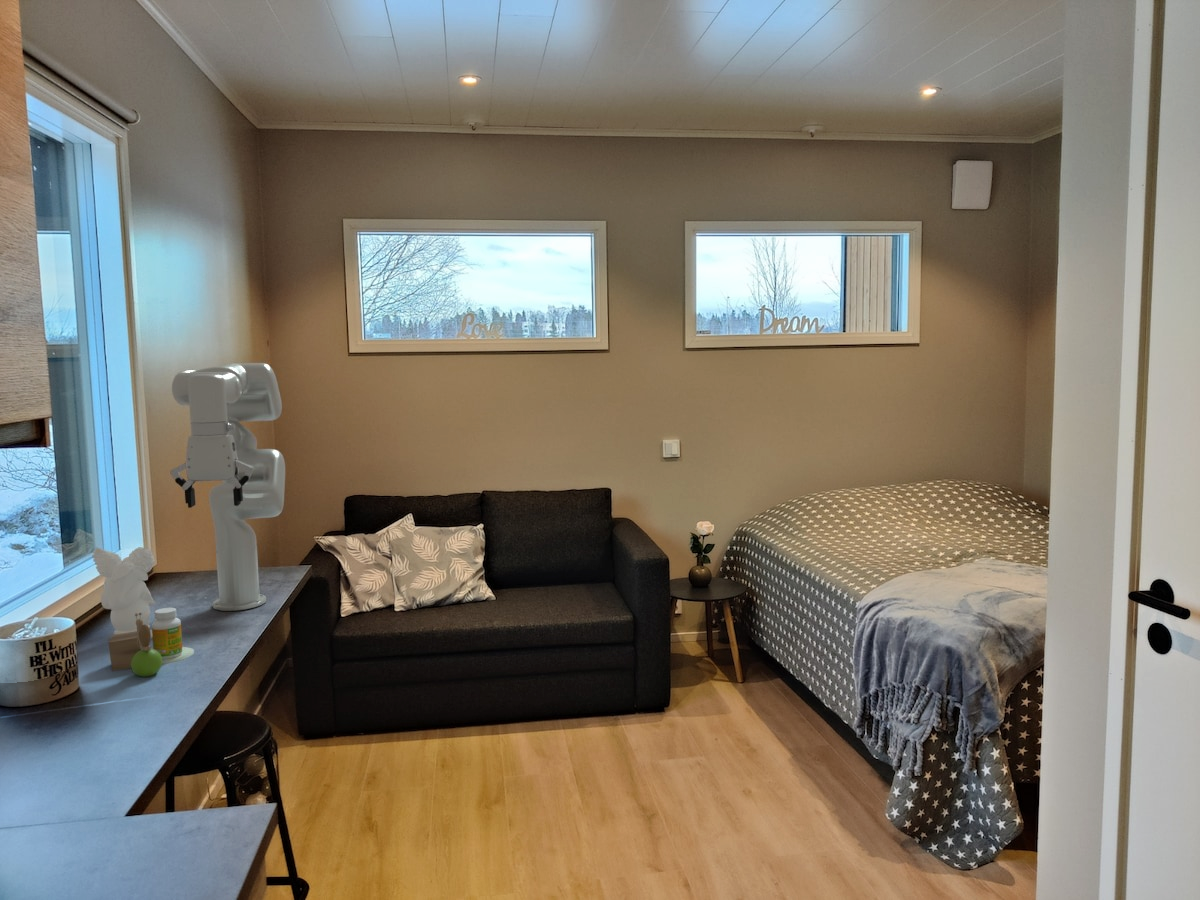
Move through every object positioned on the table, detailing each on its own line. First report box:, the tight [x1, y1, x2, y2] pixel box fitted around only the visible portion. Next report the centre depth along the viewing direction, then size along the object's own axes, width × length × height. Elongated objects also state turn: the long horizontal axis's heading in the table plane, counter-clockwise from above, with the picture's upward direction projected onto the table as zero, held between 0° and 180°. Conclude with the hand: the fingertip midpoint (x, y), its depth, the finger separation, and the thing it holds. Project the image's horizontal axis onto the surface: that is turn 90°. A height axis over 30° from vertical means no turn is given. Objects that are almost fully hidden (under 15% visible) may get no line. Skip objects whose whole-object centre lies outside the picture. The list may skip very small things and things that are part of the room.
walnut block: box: [108, 631, 142, 672], centre depth 169 cm, size 5×5×6 cm
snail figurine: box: [130, 613, 163, 678], centre depth 164 cm, size 5×6×12 cm
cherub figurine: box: [91, 546, 156, 639], centre depth 183 cm, size 12×12×22 cm
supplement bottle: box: [151, 607, 183, 659], centre depth 174 cm, size 5×5×10 cm
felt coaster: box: [162, 646, 195, 665], centre depth 175 cm, size 10×10×1 cm
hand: (214, 505), depth 186 cm, fingers open, 9 cm apart
